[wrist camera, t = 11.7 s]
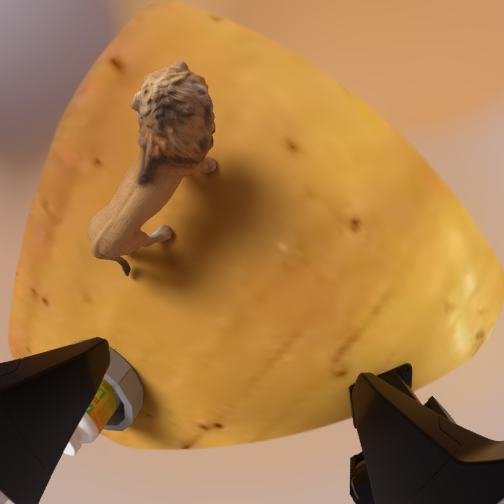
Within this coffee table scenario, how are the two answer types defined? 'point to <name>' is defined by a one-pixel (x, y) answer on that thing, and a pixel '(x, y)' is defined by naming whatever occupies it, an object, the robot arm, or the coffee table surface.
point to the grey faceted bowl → (123, 392)
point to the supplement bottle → (94, 417)
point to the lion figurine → (157, 160)
